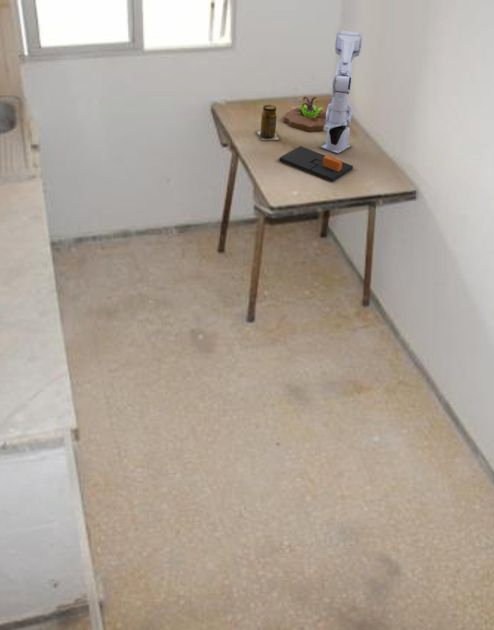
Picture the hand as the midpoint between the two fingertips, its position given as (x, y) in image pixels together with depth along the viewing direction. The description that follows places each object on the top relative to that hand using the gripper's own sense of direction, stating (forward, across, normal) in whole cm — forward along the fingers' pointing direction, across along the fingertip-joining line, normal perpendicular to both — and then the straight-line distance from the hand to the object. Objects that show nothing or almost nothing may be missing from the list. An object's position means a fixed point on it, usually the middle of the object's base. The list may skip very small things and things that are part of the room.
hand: (334, 143), depth 269 cm
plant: (+10, +29, +30) cm, 43 cm away
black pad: (+9, -3, +10) cm, 14 cm away
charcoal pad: (+9, -3, -1) cm, 10 cm away
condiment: (+10, +5, +34) cm, 36 cm away
